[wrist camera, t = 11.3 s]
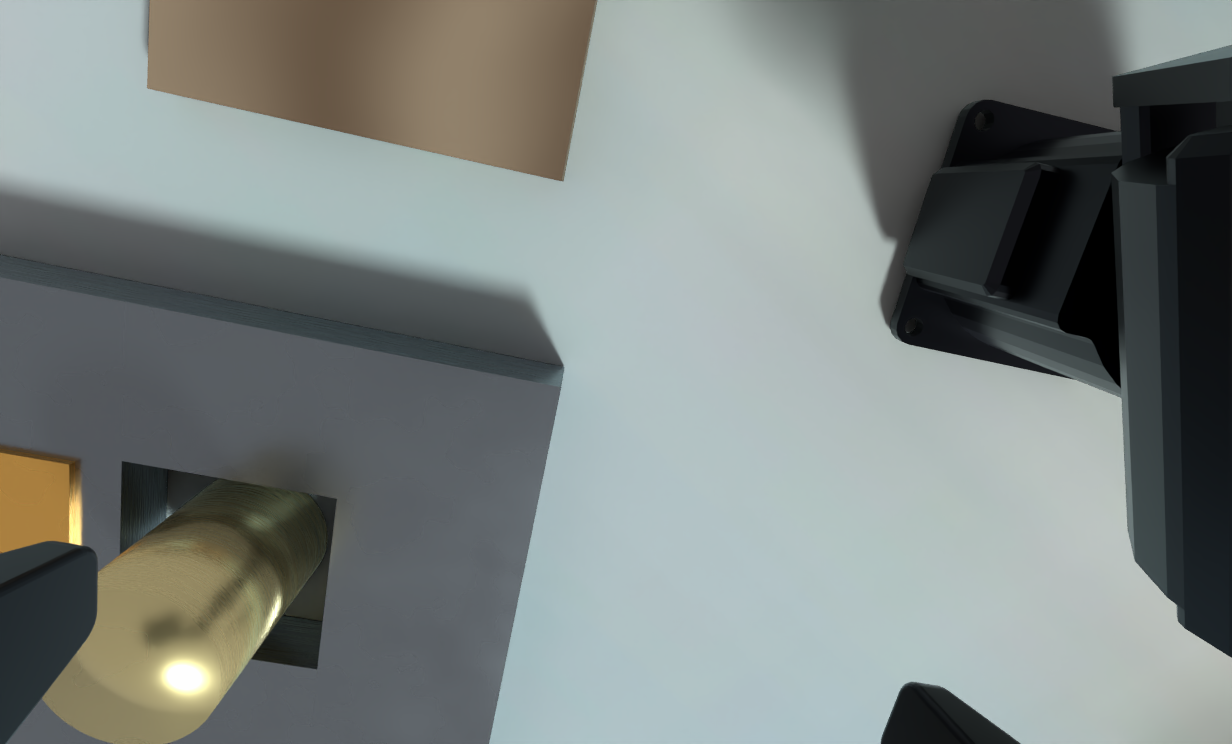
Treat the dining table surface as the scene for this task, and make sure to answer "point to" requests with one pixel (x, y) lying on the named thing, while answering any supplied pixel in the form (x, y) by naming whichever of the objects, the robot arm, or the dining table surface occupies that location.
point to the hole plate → (287, 487)
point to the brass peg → (188, 612)
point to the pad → (389, 69)
